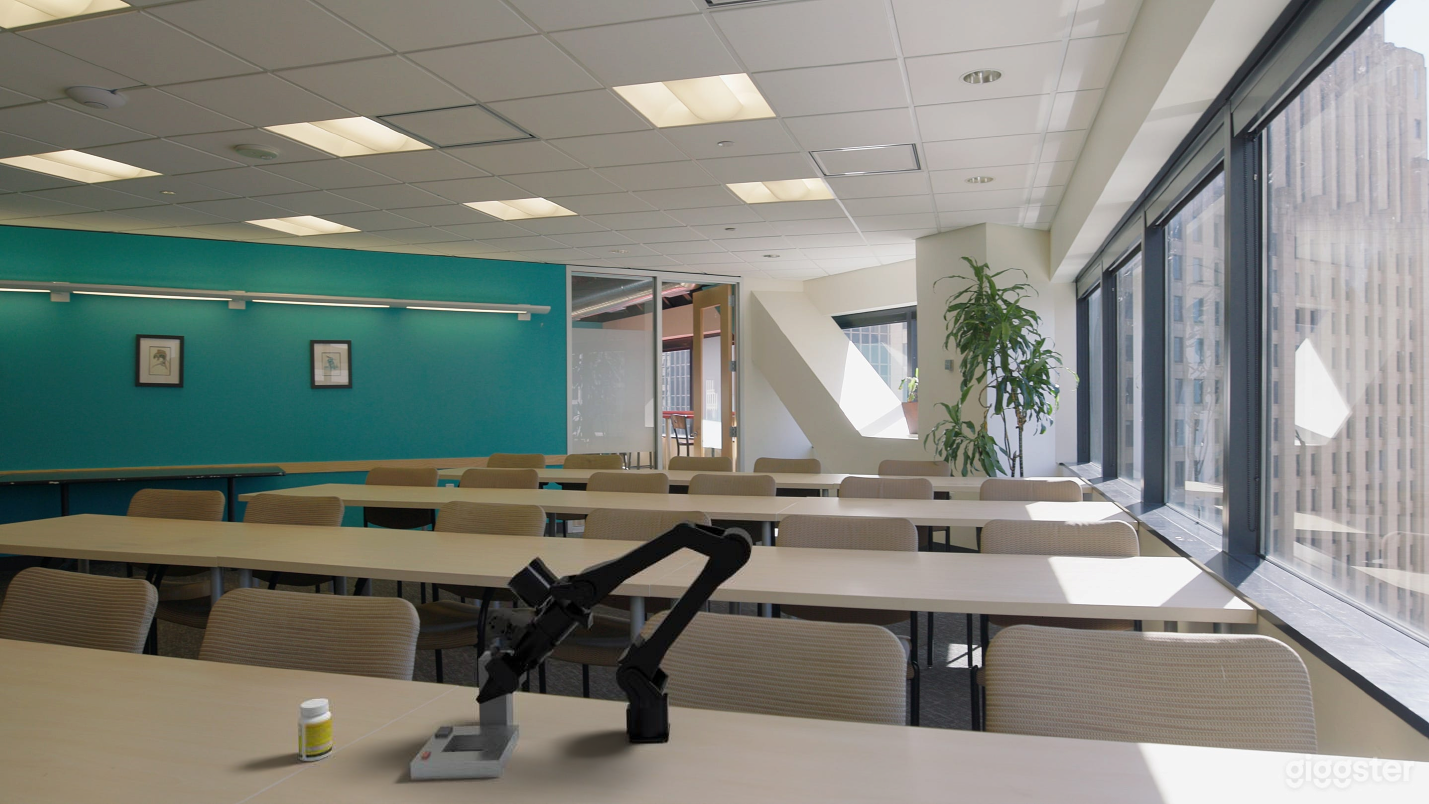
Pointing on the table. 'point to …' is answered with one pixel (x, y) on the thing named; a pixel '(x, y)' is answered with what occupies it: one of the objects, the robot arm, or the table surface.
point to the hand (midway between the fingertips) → (488, 692)
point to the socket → (447, 764)
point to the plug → (498, 708)
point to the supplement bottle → (314, 730)
